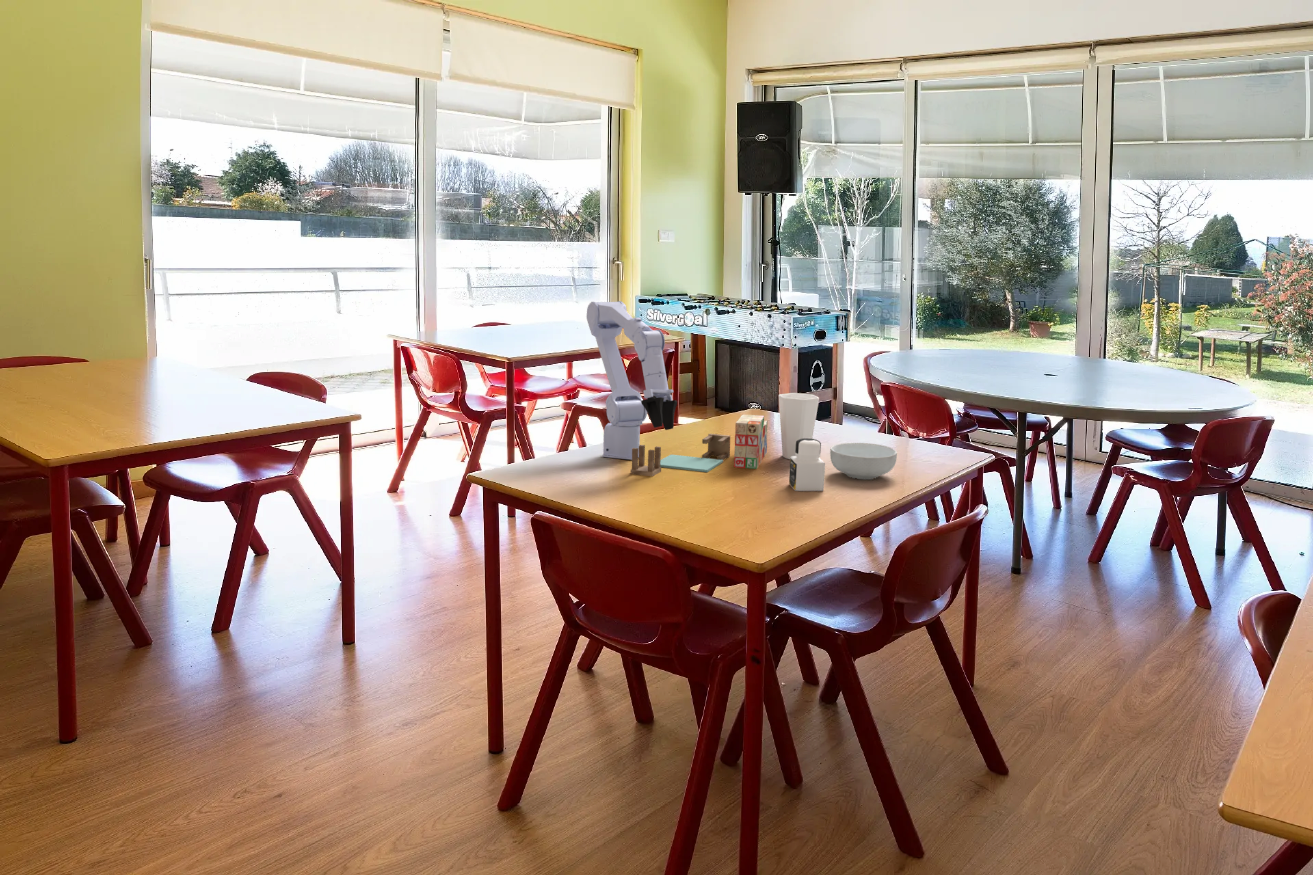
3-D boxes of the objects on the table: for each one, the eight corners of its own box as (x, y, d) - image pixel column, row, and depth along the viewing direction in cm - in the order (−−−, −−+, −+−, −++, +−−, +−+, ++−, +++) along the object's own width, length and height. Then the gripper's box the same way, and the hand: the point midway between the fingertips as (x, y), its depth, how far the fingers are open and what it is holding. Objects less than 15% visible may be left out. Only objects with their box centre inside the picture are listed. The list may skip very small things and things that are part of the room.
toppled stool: (701, 438, 285) (709, 433, 291) (701, 459, 286) (709, 454, 292) (722, 440, 283) (730, 435, 289) (722, 462, 284) (729, 456, 290)
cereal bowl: (816, 471, 276) (818, 444, 275) (870, 466, 282) (871, 440, 281) (853, 486, 261) (854, 458, 259) (908, 481, 267) (910, 453, 266)
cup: (771, 458, 289) (773, 397, 286) (781, 451, 298) (783, 392, 295) (811, 462, 285) (814, 400, 282) (820, 455, 294) (823, 395, 291)
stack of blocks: (744, 451, 298) (746, 408, 296) (767, 453, 297) (768, 409, 295) (733, 467, 278) (735, 421, 275) (757, 469, 277) (759, 423, 274)
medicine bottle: (788, 484, 261) (790, 436, 259) (817, 484, 262) (819, 436, 259) (794, 491, 254) (797, 442, 252) (823, 491, 255) (826, 442, 252)
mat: (653, 466, 277) (653, 463, 277) (671, 456, 289) (671, 454, 289) (707, 472, 272) (707, 469, 271) (723, 462, 283) (723, 460, 283)
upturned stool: (630, 474, 268) (631, 448, 267) (639, 469, 274) (640, 444, 272) (652, 476, 266) (653, 451, 265) (661, 471, 271) (661, 446, 270)
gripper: (658, 369, 262) (667, 422, 260) (679, 376, 275) (688, 427, 273) (632, 375, 264) (641, 428, 263) (654, 382, 278) (663, 432, 276)
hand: (663, 428), depth 268 cm, fingers open, 7 cm apart
